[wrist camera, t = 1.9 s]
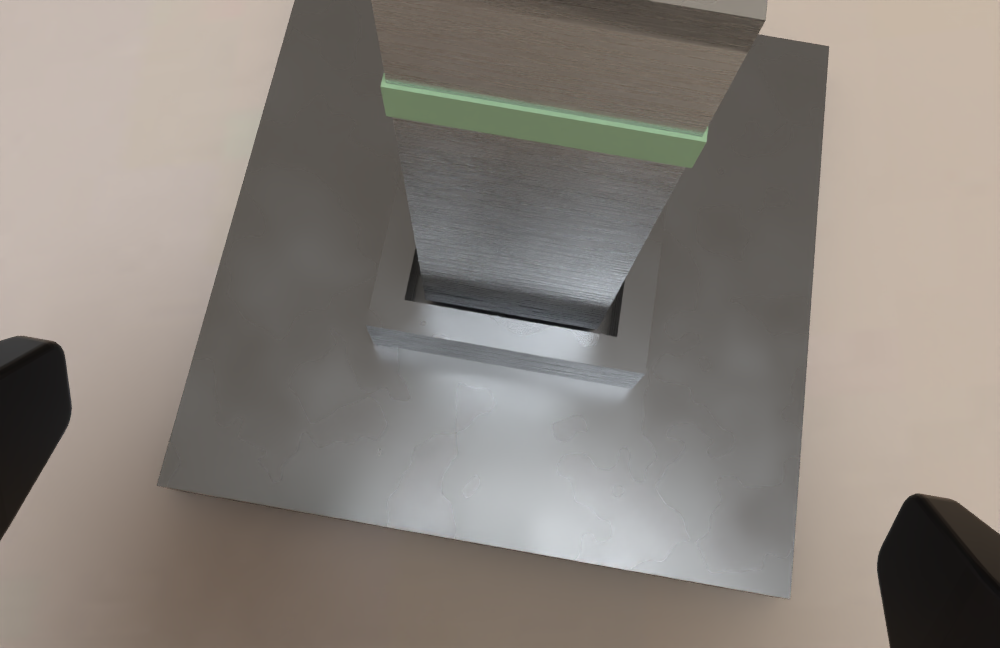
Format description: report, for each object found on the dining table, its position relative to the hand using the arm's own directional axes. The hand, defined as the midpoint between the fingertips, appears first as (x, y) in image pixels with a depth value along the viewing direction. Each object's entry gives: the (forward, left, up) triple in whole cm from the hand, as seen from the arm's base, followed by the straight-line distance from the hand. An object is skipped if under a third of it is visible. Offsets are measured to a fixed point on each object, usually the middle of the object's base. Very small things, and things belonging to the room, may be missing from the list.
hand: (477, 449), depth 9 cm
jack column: (+6, +4, -12) cm, 14 cm away
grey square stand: (+6, +4, -13) cm, 15 cm away
